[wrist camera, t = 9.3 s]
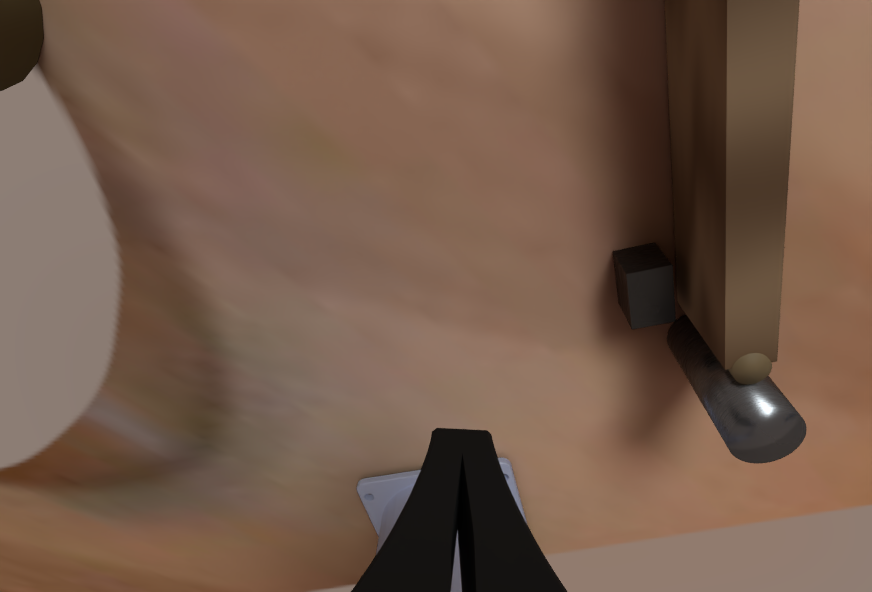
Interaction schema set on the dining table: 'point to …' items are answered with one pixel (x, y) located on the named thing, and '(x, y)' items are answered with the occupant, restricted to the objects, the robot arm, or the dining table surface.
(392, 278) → the dining table surface
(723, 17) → the handle
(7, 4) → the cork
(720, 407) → the hammer
